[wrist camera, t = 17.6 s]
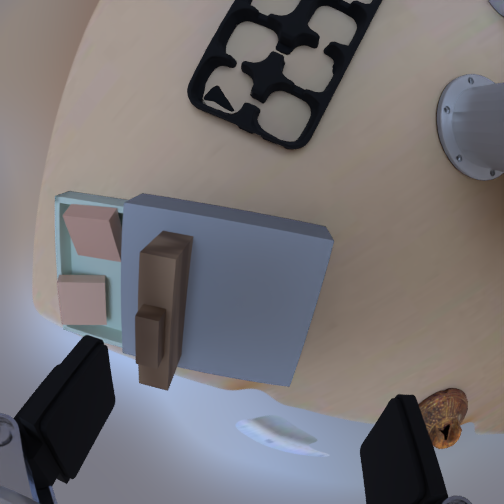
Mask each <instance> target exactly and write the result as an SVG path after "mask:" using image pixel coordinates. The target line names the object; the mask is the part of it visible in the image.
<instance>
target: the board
mask: <svg viewBox="0 0 504 504" xmlns="http://www.w3.org/2000/svg"><path fill="white" fill-rule="evenodd" d="M162 231H168V232H173V233H179V234H184V235H190V236H193V244H192V252H191V261H190V269H189V279H188V288H187V298H186V308H185V319H184V330H183V342H182V355H181V357H180V360H179V363H178V365H177V367H181V368H186V369H190V370H195V371H199V372H204V373H209V374H214V375H219V376H225V377H230V378H236V379H241V380H247V381H254V382H260V383H267V384H273V385H281V386H288V387H290V384H291V381H292V378H293V375H294V372H295V369H296V366H297V363H298V360H299V357H300V354H301V351H302V348H303V345H304V342H305V339H306V336H307V333H308V330H309V326H310V323H311V320H312V317H313V313H314V310H315V307H316V304H317V300H318V297H319V293H320V290H321V287H322V283H323V280H324V276H325V272H326V269H327V265H328V262H329V258H330V254H331V251H332V247H333V243H334V240H333V238H332V236H331V235H330V233H329V231H328V230H327V228H326V226H321V225H316V224H312V223H307V222H302V221H297V220H291V219H286V218H281V217H276V216H271V215H266V214H260V213H255V212H250V211H244V210H239V209H233V208H228V207H222V206H216V205H211V204H205V203H199V202H193V201H187V200H181V199H175V198H169V197H163V196H156V195H150V194H143V193H142V194H140V195H138V196H136V197H134V198H132V199H130V200H128V201H126V202H124V208H123V224H122V246H121V326H122V348H123V353H126V354H129V355H133V356H136V352H135V315H136V313H137V312H138V279H139V256H140V251H141V250H142V249H144V248H145V247H146V246H147V245H148V244H149V243H150V242H151V241H152V240H153V239H154V238H155V237H156V236H158V235H159V234H160V233H161V232H162Z"/></svg>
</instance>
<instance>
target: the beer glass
mask: <svg viewBox="0 0 504 504" xmlns="http://www.w3.org/2000/svg"><path fill="white" fill-rule="evenodd" d="M489 2H490V3H491V5H492V6H493V7H494V9H495V10H496V11H497V12H498V13H500V14H501V15H502V16H504V0H489Z"/></svg>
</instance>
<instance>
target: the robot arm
mask: <svg viewBox="0 0 504 504" xmlns="http://www.w3.org/2000/svg"><path fill="white" fill-rule="evenodd" d="M444 109H445V111H444ZM437 126H438V133H439V137H440V141H441V144H442V146H443V148H444V151H445V153H446V155H447V156H448V158H449V160H450V161H451V162H452V163H453V165H454V166H455V167H456V168H457V169H458V170H459V171H461V172H462V173H463V174H465V175H467V176H469V177H471V178H474V179H477V180H484V181H485V180H492V179H494V178H497V177H499V176H500V175H502V174H503V173H504V83H497V84H495V83H494V82H493V81H491V80H490V79H488V78H486V77H484V76H481V75H476V74H468V75H463V76H459V77H457V78H455V79H454V80H452V81H451V82H450V83H449V84H448V85H447V86H446V88H445V89H444V91H443V92H442V95H441V97H440V100H439V104H438V109H437ZM456 157H457V159H456ZM114 405H115V395H114V388H113V382H112V376H111V369H110V362H109V354H108V348H107V346H106V345H104V342H103V340H102V339H99V338H96V337H93V336H90V335H85V336H84V337H83V338H82V339H81V340H80V341H79V342H78V344H77V345H76V346H75V347H74V348H73V350H72V351H71V352H70V353H69V355H67V357H66V358H65V359H64V360H63V361H62V363H61V364H59V365H57V366H56V367H55V368H54V369H53V370H52V371H51V372H50V373H49V375H48V376H47V377H46V378H45V379H44V381H43V382H42V383H41V384H40V386H39V387H38V388H37V389H36V391H35V392H34V393H33V394H32V396H31V397H30V398H29V399H28V401H27V402H26V403H25V404H24V406H23V407H22V408H21V410H20V411H19V412H18V413H17V415H16V416H15V417H14V419H13V418H12V417H11V416H9V415H6V414H2V413H0V504H57V501H56V498H55V494H54V491H53V488H52V485H53V484H54V482H55V480H56V479H58V480H60V481H62V482H64V483H66V484H67V483H68V481H69V479H70V478H71V479H74V478H75V477H76V475H77V473H78V472H79V470H80V468H81V466H82V464H83V462H84V460H85V459H86V457H87V455H88V453H89V451H90V449H91V447H92V445H93V444H94V442H95V440H96V438H97V436H98V435H99V433H100V431H101V429H102V427H103V426H104V424H105V422H106V420H107V418H108V417H109V415H110V413H111V411H112V409H113V407H114ZM360 457H361V463H362V471H363V479H364V487H365V494H366V504H472V503H471V502H470V501H469V500H468V499H466V498H465V497H462V496H452V497H449V498H448V494H447V491H446V487H445V484H444V480H443V477H442V473H441V470H440V467H439V464H438V460H437V457H436V454H435V451H434V447H433V444H432V441H431V438H430V436H429V433H428V430H427V428H426V425H425V422H424V419H423V416H422V413H421V410H420V408H419V405H418V402H417V400H416V397H415V396H414V395H401V394H398V395H397V396H396V397H395V398H392V399H391V400H390V401H389V403H388V405H387V406H386V408H385V409H384V411H383V413H382V414H381V416H380V417H379V419H378V421H377V422H376V424H375V425H374V427H373V428H372V430H371V431H370V433H369V434H368V436H367V437H366V439H365V440H364V442H363V444H362V445H361V448H360Z"/></svg>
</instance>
